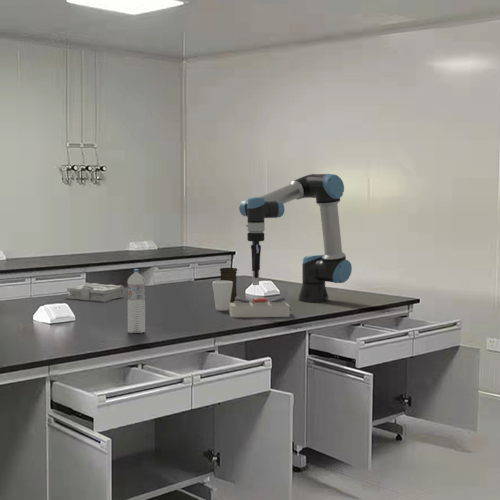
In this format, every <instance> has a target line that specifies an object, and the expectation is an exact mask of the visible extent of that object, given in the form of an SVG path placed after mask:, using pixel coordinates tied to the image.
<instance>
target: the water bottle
mask: <svg viewBox="0 0 500 500" xmlns="http://www.w3.org/2000/svg"><path fill="white" fill-rule="evenodd" d="M139 270H140V269H139V268H138V269H137V268H134V269H133V273H132V274H131V275H130V276H129V277H128V278H127V332H128V333H129V334H132V333H140V334H144V333H145V331H146V299H145V298H146V287H145V286H146V279H145V278H144V276H143V275H142V274H140V273H139ZM143 332H144V333H143Z"/></svg>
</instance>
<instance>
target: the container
mask: <svg viewBox="0 0 500 500" xmlns="http://www.w3.org/2000/svg"><path fill="white" fill-rule="evenodd" d="M219 271H220V272H219V273H220V281H232V282H233V287H232V293H231V300H230V303H234V301H236V300H235V297H237V271H238V268H237V267H221V268H219Z"/></svg>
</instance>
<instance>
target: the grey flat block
mask: <svg viewBox="0 0 500 500" xmlns="http://www.w3.org/2000/svg"><path fill="white" fill-rule="evenodd" d="M66 288H67V292H69V293H68V295H67V297H66V298H67V299H69V300H81V301H95V302H100V303H101V302H109V301H112V300H115V299H121V298H124V296H125V288H124V286H123V285H115V284H101V283H95V282H94V283H93V282H92V283H90V282H85V283H84V284H81V285H77V286H74V285H73V286H68V287H66Z"/></svg>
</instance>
